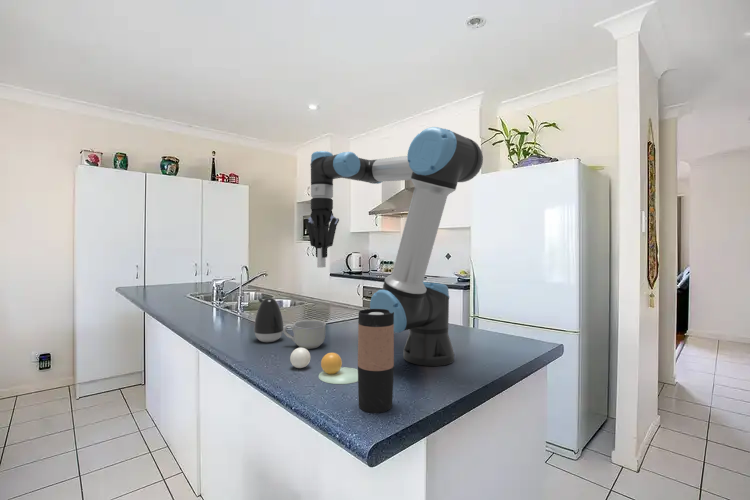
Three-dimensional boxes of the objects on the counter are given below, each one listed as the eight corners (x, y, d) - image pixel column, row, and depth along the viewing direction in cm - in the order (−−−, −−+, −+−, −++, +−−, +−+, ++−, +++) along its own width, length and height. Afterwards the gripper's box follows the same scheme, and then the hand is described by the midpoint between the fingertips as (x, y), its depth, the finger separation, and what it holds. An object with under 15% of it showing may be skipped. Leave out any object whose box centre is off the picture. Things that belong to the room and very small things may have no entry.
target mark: (372, 372, 100) (372, 371, 100) (349, 387, 89) (349, 386, 89) (335, 365, 105) (335, 364, 105) (309, 379, 95) (309, 378, 95)
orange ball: (327, 367, 103) (344, 373, 100) (315, 373, 98) (332, 379, 95) (330, 347, 102) (347, 353, 100) (318, 352, 97) (335, 359, 95)
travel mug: (351, 410, 77) (352, 313, 77) (365, 396, 84) (366, 307, 84) (386, 416, 74) (387, 316, 74) (398, 401, 81) (398, 310, 81)
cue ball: (296, 349, 107) (303, 367, 106) (283, 354, 103) (290, 373, 101) (309, 342, 105) (317, 360, 104) (296, 347, 100) (304, 366, 99)
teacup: (328, 343, 130) (329, 320, 130) (321, 351, 119) (321, 326, 119) (289, 341, 131) (290, 318, 131) (279, 350, 120) (279, 325, 120)
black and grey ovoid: (270, 335, 140) (271, 295, 139) (289, 339, 133) (289, 297, 133) (247, 341, 131) (247, 298, 131) (266, 345, 125) (266, 300, 125)
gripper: (299, 198, 127) (299, 267, 127) (331, 195, 121) (331, 268, 122) (313, 200, 134) (312, 266, 134) (343, 198, 128) (343, 267, 128)
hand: (321, 267), depth 128 cm, fingers closed
